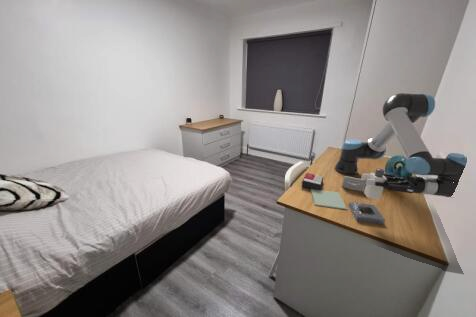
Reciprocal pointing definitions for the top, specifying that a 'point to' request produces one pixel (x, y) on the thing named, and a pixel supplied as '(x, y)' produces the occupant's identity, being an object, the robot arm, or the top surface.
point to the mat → (328, 199)
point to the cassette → (358, 186)
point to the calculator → (312, 181)
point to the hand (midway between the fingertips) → (364, 178)
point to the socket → (359, 216)
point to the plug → (375, 190)
